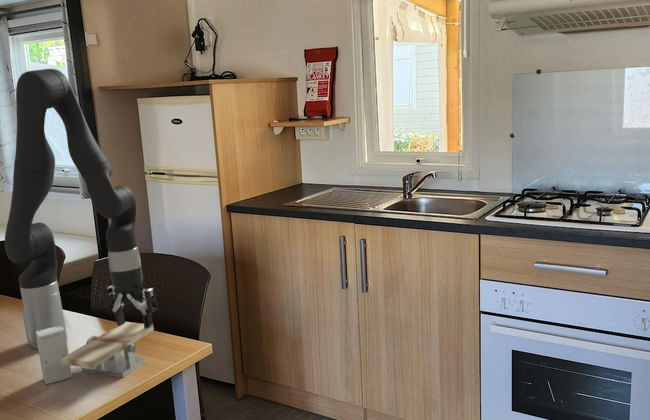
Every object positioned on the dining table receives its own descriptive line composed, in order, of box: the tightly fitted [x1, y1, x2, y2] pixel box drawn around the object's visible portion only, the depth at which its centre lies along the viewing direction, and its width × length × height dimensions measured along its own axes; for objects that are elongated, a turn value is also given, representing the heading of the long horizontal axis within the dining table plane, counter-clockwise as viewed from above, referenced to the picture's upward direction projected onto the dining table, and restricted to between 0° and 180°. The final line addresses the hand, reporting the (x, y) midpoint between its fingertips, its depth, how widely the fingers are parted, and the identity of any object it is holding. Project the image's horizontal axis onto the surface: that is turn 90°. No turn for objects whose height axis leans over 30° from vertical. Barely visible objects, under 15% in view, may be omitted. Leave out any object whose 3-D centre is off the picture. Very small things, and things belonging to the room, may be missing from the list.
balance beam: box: [62, 321, 155, 368], centre depth 150 cm, size 9×22×2 cm, turn 158°
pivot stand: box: [81, 335, 146, 378], centre depth 151 cm, size 14×8×7 cm, turn 68°
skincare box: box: [36, 326, 73, 385], centre depth 147 cm, size 6×4×12 cm
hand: (134, 326), depth 158 cm, fingers open, 8 cm apart
